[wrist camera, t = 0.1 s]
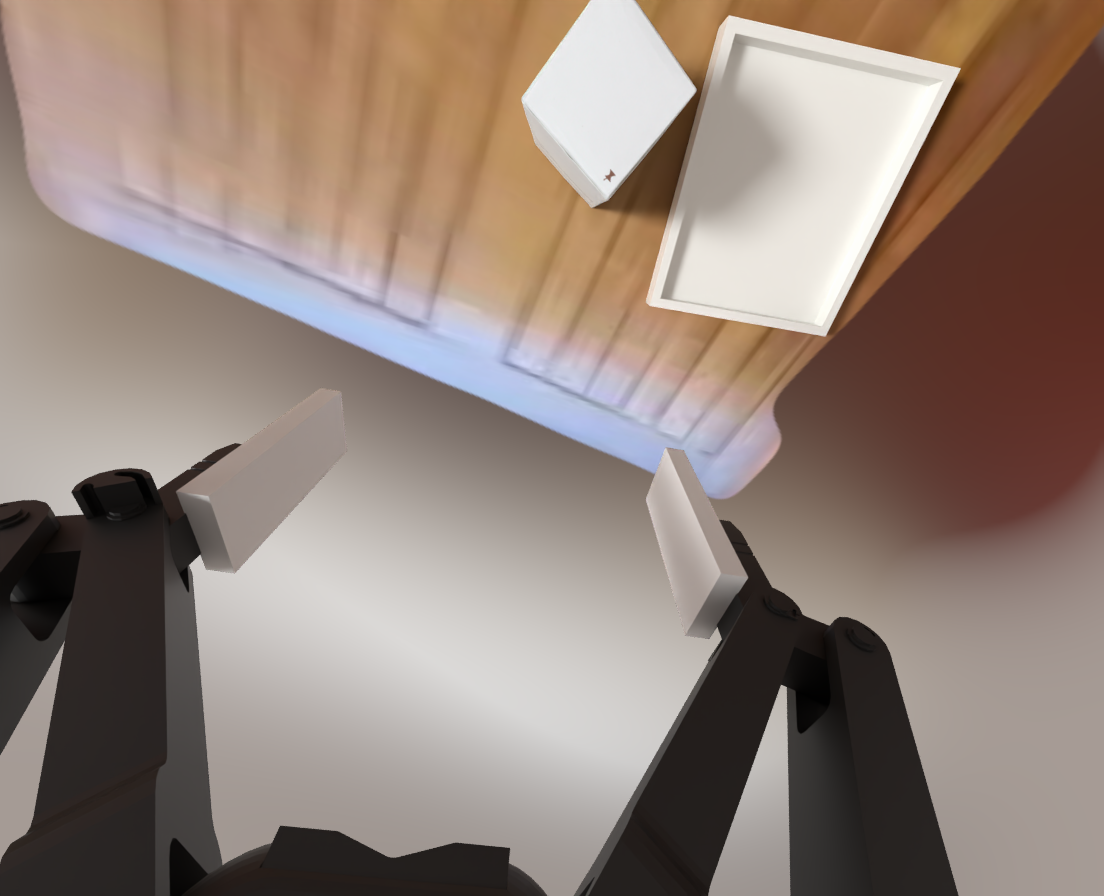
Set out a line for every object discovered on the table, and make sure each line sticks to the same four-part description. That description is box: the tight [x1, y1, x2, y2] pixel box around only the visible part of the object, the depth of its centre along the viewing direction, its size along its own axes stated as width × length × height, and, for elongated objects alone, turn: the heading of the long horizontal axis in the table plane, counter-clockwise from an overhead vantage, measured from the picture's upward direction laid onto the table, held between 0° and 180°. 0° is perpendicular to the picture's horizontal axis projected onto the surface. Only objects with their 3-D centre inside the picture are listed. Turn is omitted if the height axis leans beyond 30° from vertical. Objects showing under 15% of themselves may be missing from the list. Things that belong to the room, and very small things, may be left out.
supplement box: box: [522, 0, 697, 208], centre depth 28 cm, size 7×7×13 cm
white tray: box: [646, 16, 961, 336], centre depth 34 cm, size 20×18×2 cm
